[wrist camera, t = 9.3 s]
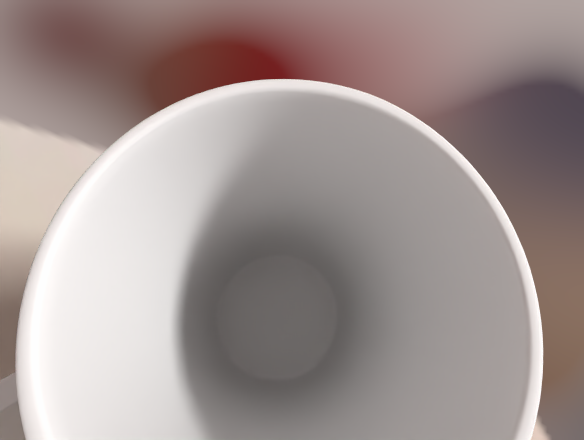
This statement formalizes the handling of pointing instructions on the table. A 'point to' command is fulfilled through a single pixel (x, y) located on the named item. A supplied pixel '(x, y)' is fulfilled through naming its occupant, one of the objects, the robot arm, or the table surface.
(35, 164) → the table surface
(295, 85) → the mug
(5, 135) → the table surface
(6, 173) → the table surface
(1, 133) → the table surface
